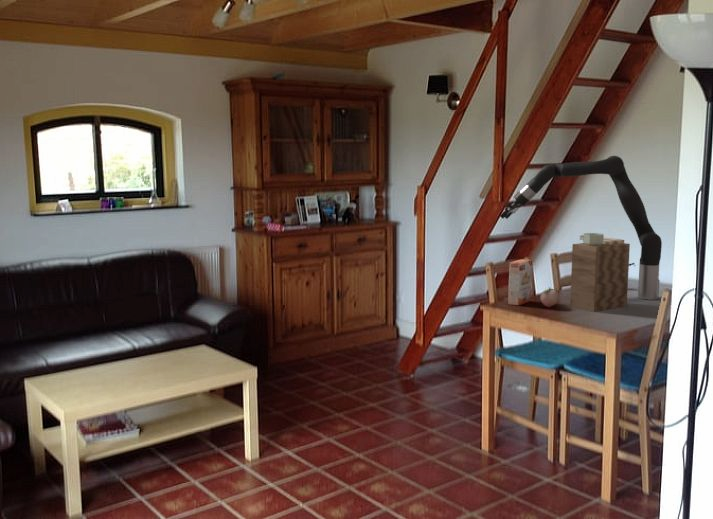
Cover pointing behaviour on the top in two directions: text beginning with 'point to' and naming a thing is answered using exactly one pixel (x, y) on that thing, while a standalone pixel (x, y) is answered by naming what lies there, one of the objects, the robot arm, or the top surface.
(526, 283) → the cracker box
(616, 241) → the lid
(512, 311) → the top surface
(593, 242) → the pale grey block
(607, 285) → the stand
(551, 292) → the decorative fruit
